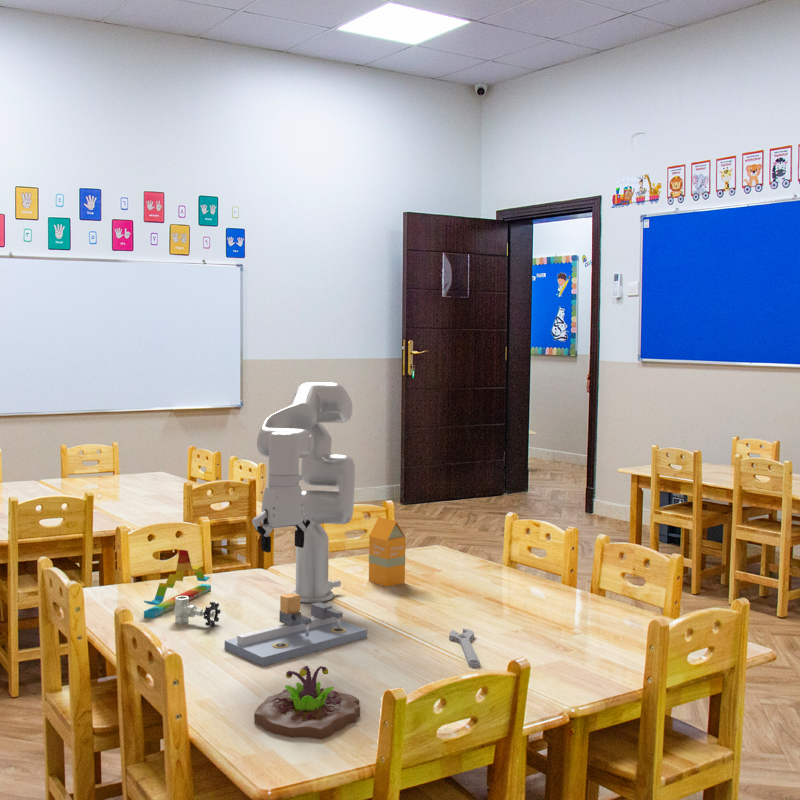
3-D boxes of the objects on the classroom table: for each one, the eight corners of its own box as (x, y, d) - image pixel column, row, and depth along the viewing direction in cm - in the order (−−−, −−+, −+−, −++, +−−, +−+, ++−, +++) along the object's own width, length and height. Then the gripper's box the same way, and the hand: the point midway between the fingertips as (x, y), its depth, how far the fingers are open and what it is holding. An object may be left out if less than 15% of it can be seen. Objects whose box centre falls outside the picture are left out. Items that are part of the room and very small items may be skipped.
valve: (167, 624, 239) (206, 630, 235) (168, 599, 239) (206, 605, 234) (182, 617, 245) (220, 623, 241) (182, 593, 245) (220, 598, 240)
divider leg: (290, 625, 231) (290, 592, 230) (315, 634, 223) (315, 600, 223) (277, 628, 228) (278, 594, 227) (302, 638, 221) (302, 603, 220)
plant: (237, 729, 175) (237, 672, 174) (286, 693, 193) (286, 642, 193) (330, 747, 168) (331, 688, 167) (372, 708, 186) (373, 655, 185)
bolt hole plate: (327, 622, 242) (327, 596, 242) (366, 637, 231) (367, 610, 230) (224, 648, 220) (224, 620, 220) (262, 666, 209) (262, 636, 208)
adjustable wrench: (480, 670, 210) (481, 662, 210) (453, 669, 210) (453, 662, 210) (473, 635, 235) (473, 628, 235) (448, 634, 235) (448, 628, 235)
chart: (154, 619, 244) (154, 564, 243) (143, 618, 245) (143, 563, 244) (211, 591, 273) (211, 541, 272) (202, 590, 274) (202, 541, 273)
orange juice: (386, 577, 292) (387, 515, 290) (405, 582, 285) (406, 519, 284) (368, 581, 286) (368, 518, 285) (386, 586, 280) (387, 522, 279)
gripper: (304, 476, 234) (303, 542, 235) (245, 482, 223) (244, 550, 224) (320, 480, 229) (319, 547, 229) (261, 485, 217) (260, 556, 218)
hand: (282, 549), depth 227 cm, fingers open, 9 cm apart
